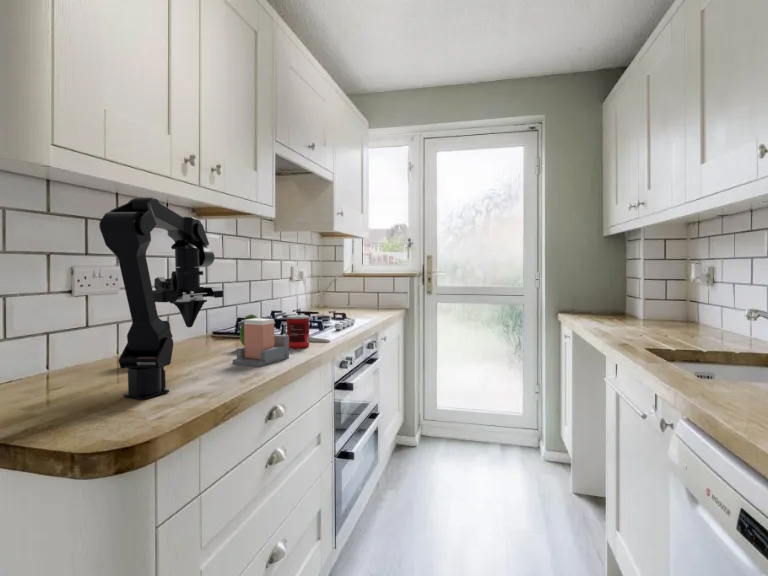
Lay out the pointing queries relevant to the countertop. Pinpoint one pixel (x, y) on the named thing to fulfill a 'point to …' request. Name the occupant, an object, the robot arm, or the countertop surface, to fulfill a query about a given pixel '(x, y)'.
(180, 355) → the countertop surface
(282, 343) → the housing
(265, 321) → the pink white rectangular block
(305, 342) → the canned food
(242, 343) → the avocado
